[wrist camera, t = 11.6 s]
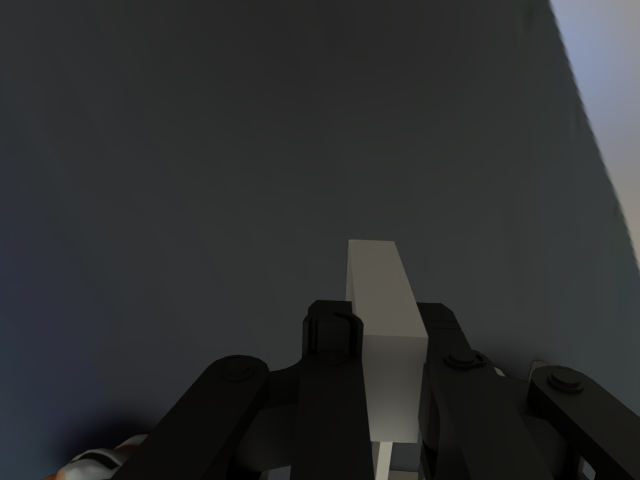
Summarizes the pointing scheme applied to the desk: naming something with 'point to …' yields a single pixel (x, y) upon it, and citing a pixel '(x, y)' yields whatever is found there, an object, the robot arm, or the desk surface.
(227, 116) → the desk surface
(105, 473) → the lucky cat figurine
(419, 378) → the robot arm
